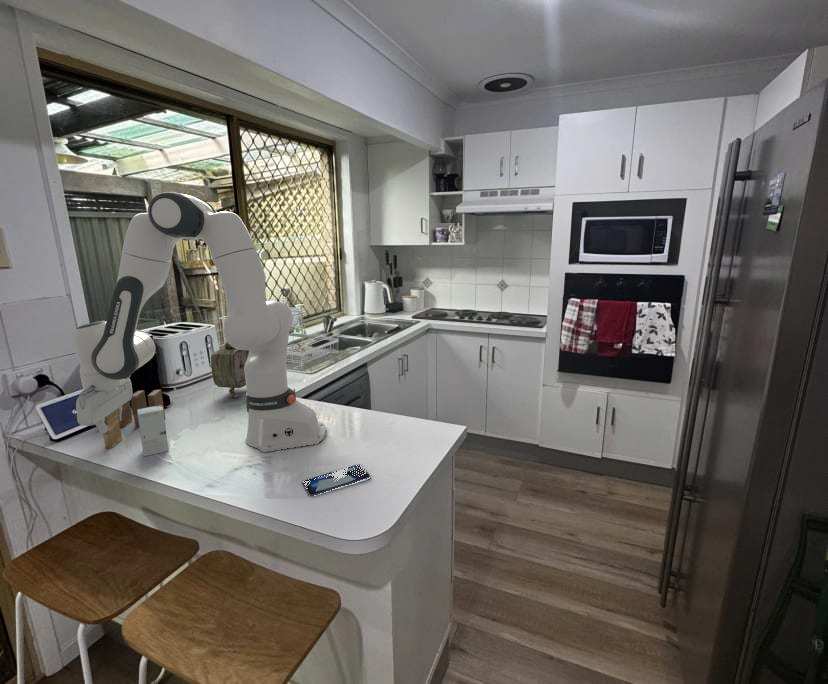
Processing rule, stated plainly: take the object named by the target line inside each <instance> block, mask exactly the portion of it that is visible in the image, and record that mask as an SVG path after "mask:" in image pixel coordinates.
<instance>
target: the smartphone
mask: <svg viewBox="0 0 828 684" xmlns="http://www.w3.org/2000/svg"><path fill="white" fill-rule="evenodd" d="M356 465H357V464H354V465H350V466H348V470H347V474H345V475H347V476H345V477H344V478H343V477H342V478H340V479H339V480H338V479H337V478H338V477H337V478H335V479H334V476H333V477H332V476H331V475H332V472H333V471H331V472H328V473H323V474H320V475H318V476H317V475H316V476H314V477H310V478H307V479H304V480H305V481H309V480H310V481H311V482H310V481H309V482H310V484H309V482H308V483H307V485H308V484H309V485H308V486H307V485H306V486H307V487H306V486H305V485H304V484H305V483H306V482H305V481H304V480H303V481H304V482H305V483H303V485H304V487H306V488H308V489H306V488H304V487H303V488H304V490H305V489H306V490H305V492H306V491H307V492H306V493H308V494H307V496H308V495H310V496H314V495H318V494H320V493H324V492H326V491H330V490H332V489H335V488H338V487H341V486H345V485H349V484H352V483H355V482H357V481H360V480H363V479H367V478H369V477H370V478H371V474H370V473H369V472H368V471H367V470H366V468H364V470H363V468H362V469H361V467H360V465H361V466H362V467H364V466H363V464H358V465H359V466H358V465H357V466H358V468H357V466H356ZM353 467H354V468H355V470H354V468H353ZM359 467H360V469H361V470H363V471H361V470H360V469H359ZM356 469H357V470H356ZM344 470H345V469H344ZM352 470H353V471H352ZM358 470H359V471H358ZM365 470H366V474H364V473H365V472H364V471H365ZM335 471H336V472H337V470H335ZM345 471H346V470H345ZM350 471H351V472H350ZM354 471H355V472H354ZM356 471H357V473H356ZM360 471H361V472H360ZM352 472H353V473H352ZM358 472H359V474H358ZM362 472H363V473H362ZM333 473H334V472H333ZM343 473H344V472H343ZM345 473H346V472H345ZM354 473H355V474H354ZM360 473H361V474H360ZM327 474H328V475H327ZM329 474H331V475H330V476H329ZM334 474H335V473H334ZM352 474H353V475H352ZM356 474H357V475H356ZM362 474H364V475H362ZM324 475H325V476H324ZM343 475H344V474H343ZM348 475H349V476H348ZM354 475H355V476H354ZM358 475H359V476H360V477H359V476H358ZM361 475H362V476H361ZM319 476H320V477H319ZM321 476H322V477H321ZM327 476H328V477H327ZM318 477H319V478H318ZM326 477H327V478H326ZM311 478H312V479H311ZM315 478H316V479H315ZM308 479H309V480H308ZM314 479H315V480H314ZM333 479H334V480H333ZM336 479H337V480H338V481H337V480H336ZM335 480H336V481H335ZM334 481H335V482H334ZM303 485H302V486H303ZM310 496H309V497H310ZM318 496H319V495H318Z"/></svg>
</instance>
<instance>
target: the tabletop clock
mask: <svg viewBox="0 0 828 684" xmlns="http://www.w3.org/2000/svg"><path fill="white" fill-rule="evenodd" d="M223 336H224V335H223ZM224 339H225V340H226V338H225V336H224ZM248 354H249V350H239V349H236V348H234V347H232V346H231V345H230V344H229V343H228V342H227V340H226V342H224V345H223V347H221V348H220V349H218V350H216V351H214V352H212V354H211V356H210V365H211V368H210V369H211V373H212V381H213V383H214V385H216V386H217V387H218V388H229V390H228V392H229V393H230V394H232V395H231V397H232V399H236V398H237V397H238V395H237V394H236V391H235V389H241V388H243V387H246V381H245V372H244V366H245V363H246V360H247V358H248Z"/></svg>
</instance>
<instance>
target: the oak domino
mask: <svg viewBox="0 0 828 684" xmlns="http://www.w3.org/2000/svg"><path fill="white" fill-rule="evenodd" d="M104 423H105V424H106V425H108V426H109V430H108V431H107V432H106V433H102V436H103V441H104V447H105V449H110V448H111V449H113V448H114V447H115V446H117V445H118V444H119V443H120V442H121V441H123V436H122V431H121V430H122V429H121V428H120V425H119V419H118V414H117V409H116V410H115V411H113V412H112V413H111V414H109V415H108V416H106V417H105V421H104ZM118 442H119V443H118ZM117 443H118V444H117ZM116 444H117V445H116Z"/></svg>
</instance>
